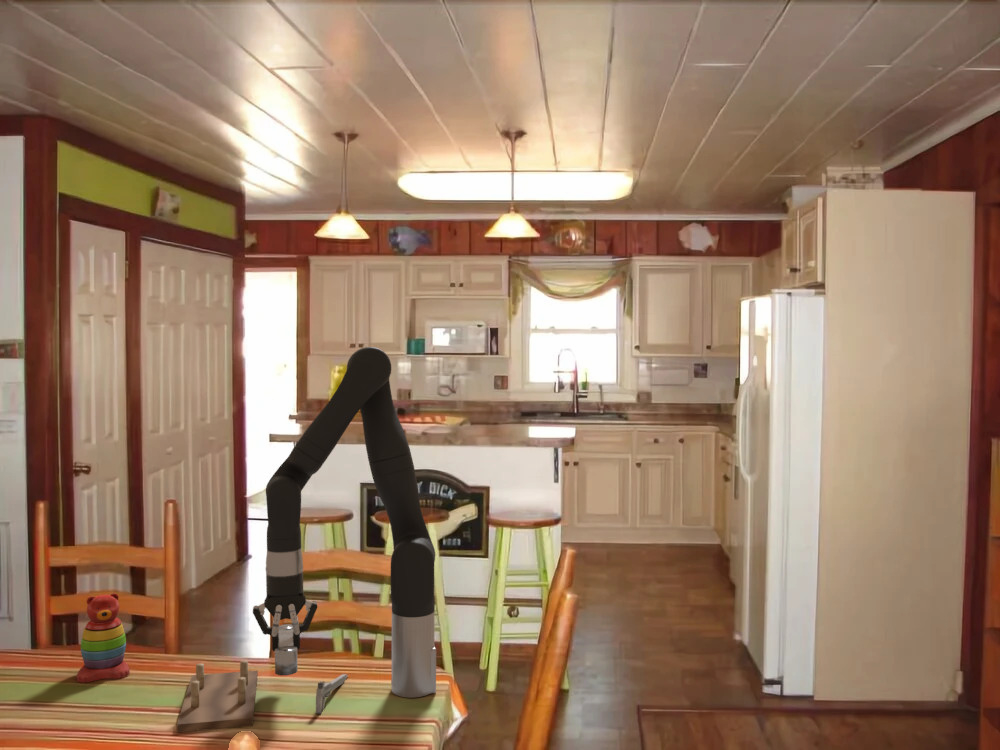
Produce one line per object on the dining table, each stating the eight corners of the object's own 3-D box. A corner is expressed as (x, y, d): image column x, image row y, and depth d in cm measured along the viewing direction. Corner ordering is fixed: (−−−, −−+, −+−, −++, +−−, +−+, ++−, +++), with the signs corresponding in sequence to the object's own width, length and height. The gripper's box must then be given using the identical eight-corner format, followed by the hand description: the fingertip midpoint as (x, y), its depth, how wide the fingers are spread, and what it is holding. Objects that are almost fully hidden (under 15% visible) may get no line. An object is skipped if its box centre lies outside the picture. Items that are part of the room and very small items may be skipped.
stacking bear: (75, 684, 191) (75, 603, 191) (78, 668, 201) (77, 591, 200) (129, 677, 196) (129, 598, 195) (129, 662, 205) (129, 587, 204)
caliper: (320, 716, 176) (321, 685, 176) (315, 715, 177) (315, 685, 176) (348, 678, 197) (348, 650, 197) (343, 678, 197) (343, 650, 197)
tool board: (257, 677, 196) (257, 648, 196) (252, 725, 171) (252, 692, 171) (191, 682, 193) (191, 652, 193) (177, 732, 168) (176, 698, 168)
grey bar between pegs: (296, 643, 194) (296, 623, 194) (297, 674, 174) (297, 651, 174) (276, 645, 193) (275, 625, 193) (274, 676, 173) (274, 653, 173)
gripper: (318, 563, 189) (319, 643, 189) (250, 568, 185) (252, 649, 186) (319, 572, 181) (320, 654, 182) (249, 577, 178) (250, 661, 178)
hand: (286, 651), depth 184 cm, fingers closed on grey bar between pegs, 3 cm apart
